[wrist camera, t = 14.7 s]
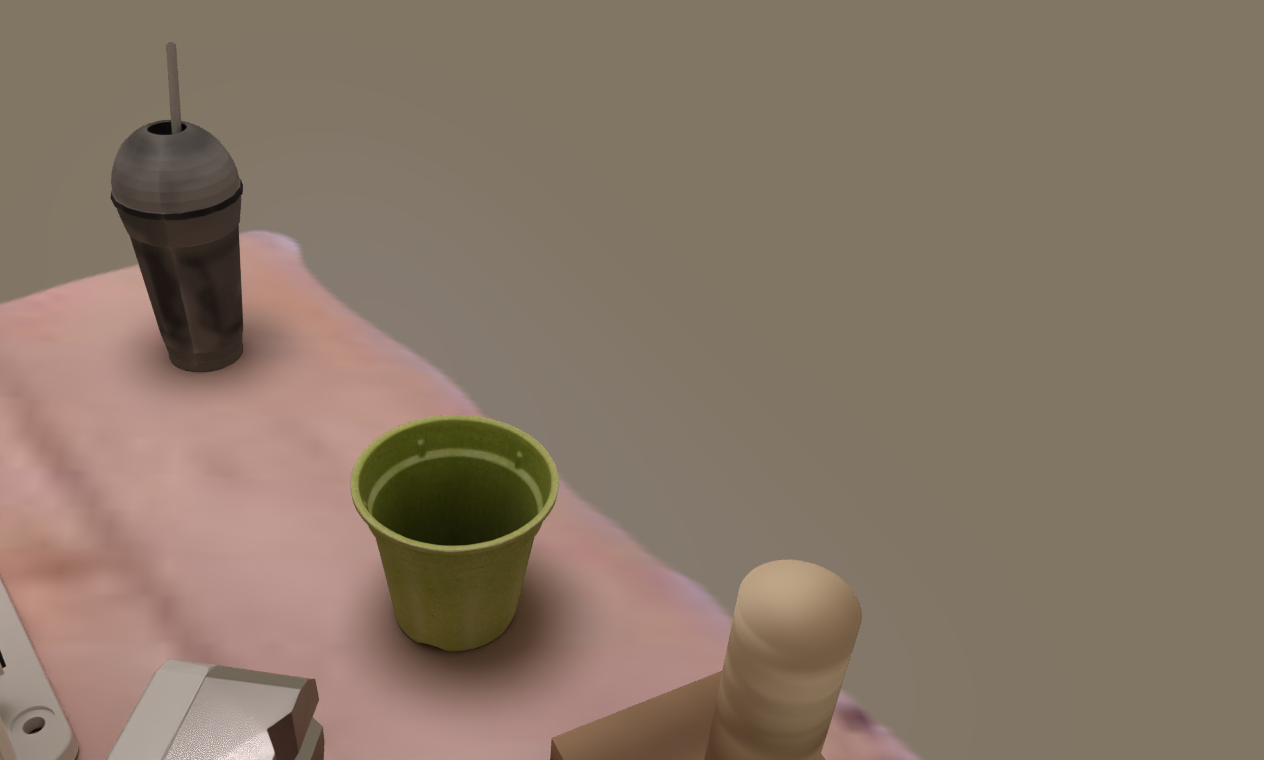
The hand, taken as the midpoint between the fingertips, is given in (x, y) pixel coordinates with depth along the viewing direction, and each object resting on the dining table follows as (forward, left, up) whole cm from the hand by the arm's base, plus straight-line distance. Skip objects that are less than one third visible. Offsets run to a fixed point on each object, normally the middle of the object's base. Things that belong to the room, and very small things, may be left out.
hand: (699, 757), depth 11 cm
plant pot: (-30, +9, -32) cm, 45 cm away
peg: (-12, +14, -32) cm, 37 cm away
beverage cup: (-57, +2, -32) cm, 66 cm away
